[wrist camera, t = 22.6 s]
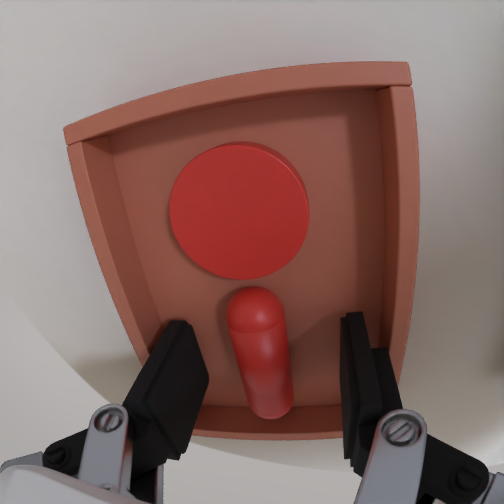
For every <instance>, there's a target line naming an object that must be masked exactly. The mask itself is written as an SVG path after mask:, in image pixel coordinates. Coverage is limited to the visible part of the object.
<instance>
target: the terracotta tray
mask: <svg viewBox="0 0 504 504" xmlns="http://www.w3.org/2000/svg"><path fill="white" fill-rule="evenodd" d="M411 85H412V80H411V74H410V68H409V64H408V63H407V62H389V61H364V62H336V63H321V64H308V65H298V66H289V67H281V68H273V69H266V70H259V71H253V72H247V73H241V74H236V75H231V76H225V77H221V78H216V79H211V80H207V81H202V82H198V83H194V84H189V85H185V86H182V87H178V88H174V89H170V90H167V91H163V92H160V93H156V94H153V95H149V96H146V97H143V98H140V99H137V100H133V101H130V102H127V103H124V104H122V105H119V106H116V107H113V108H110V109H107V110H105V111H102V112H99V113H97V114H94V115H92V116H89V117H87V118H84V119H82V120H79V121H77V122H74V123H72V124H70V125H67V126H65V127H64V129H63V130H64V135H65V140H66V144H67V145H68V147H67V152H68V156H69V161H70V165H71V169H72V174H73V178H74V182H75V186H76V189H77V193H78V197H79V201H80V204H81V208H82V211H83V215H84V218H85V221H86V225H87V228H88V231H89V234H90V238H91V241H92V244H93V247H94V250H95V253H96V256H97V259H98V261H99V264H100V267H101V270H102V273H103V275H104V278H105V281H106V283H107V286H108V289H109V291H110V294H111V296H112V299H113V301H114V304H115V306H116V309H117V311H118V314H119V316H120V318H121V321H122V323H123V325H124V328H125V330H126V332H127V334H128V337H129V339H130V341H131V343H132V345H133V348H134V350H135V352H136V354H137V356H138V358H139V360H140V362H141V364H142V366H144V364H145V362H146V361H147V359H148V357H149V356H150V355H151V353H152V351H153V349H154V348H155V346H156V344H157V342H158V341H159V339H160V337H161V335H162V334H163V332H164V330H165V328H166V327H167V325H168V323H169V322H170V321H171V320H185V321H187V322H188V324H191V325H192V327H193V329H194V332H195V336H196V339H197V342H198V345H199V348H200V351H201V353H202V356H203V359H204V362H205V365H206V368H207V371H208V374H209V384H208V387H207V390H206V393H205V396H204V399H203V402H202V405H201V408H200V411H199V414H198V417H197V420H196V423H195V426H194V429H193V432H192V435H195V436H204V437H215V438H228V439H246V440H315V439H332V438H343V423H342V406H341V392H340V378H339V369H340V318H341V317H346V313H349V312H360V311H362V312H363V315H364V320H365V324H366V328H367V332H368V336H369V341H370V345H371V349H372V348H381V347H387V349H388V352H389V355H390V359H391V363H392V366H393V370H394V374H395V378H396V382H397V386H398V383H399V379H400V374H401V369H402V364H403V359H404V354H405V349H406V343H407V338H408V332H409V325H410V319H411V312H412V304H413V296H414V288H415V278H416V267H417V254H418V237H419V206H420V183H419V152H418V136H417V124H416V113H415V104H414V95H413V89H412V87H410V86H411ZM237 141H247V142H254V143H259V144H262V145H265V146H267V147H270V148H272V149H274V150H275V151H277V152H279V153H280V154H282V155H283V156H284V157H285V158H286V159H288V160H289V161H290V162H291V164H292V165H293V166H294V167H295V168H296V170H297V171H298V173H299V174H300V176H301V178H302V180H303V182H304V185H305V188H306V191H307V196H308V203H309V226H308V231H307V235H306V238H305V240H304V242H303V245H302V246H301V248H300V250H299V251H298V253H297V254H296V255H295V257H294V258H293V259H292V260H291V261H290V262H289V263H288V264H287V265H285V266H284V267H282V268H281V269H280V270H278V271H276V272H274V273H272V274H270V275H267V276H265V277H261V278H257V279H250V280H236V279H229V278H225V277H221V276H218V275H215V274H213V273H211V272H209V271H207V270H205V269H204V268H202V267H200V266H199V265H198V264H196V263H195V262H194V261H193V260H192V259H191V258H190V257H189V256H188V255H187V254H186V253H185V252H184V250H183V249H182V248H181V246H180V244H179V243H178V241H177V239H176V237H175V235H174V233H173V229H172V226H171V222H170V216H169V202H170V195H171V191H172V188H173V185H174V182H175V181H176V179H177V177H178V175H179V174H180V172H181V171H182V169H183V168H184V167H185V166H186V165H187V164H188V163H189V162H190V161H191V160H192V159H194V158H195V157H196V156H197V155H199V154H201V153H203V152H205V151H207V150H209V149H211V148H214V147H216V146H219V145H221V144H225V143H229V142H237ZM251 286H260V287H264V288H266V289H269V290H270V291H272V292H273V293H275V294H276V296H277V297H278V298H279V299H280V301H281V303H282V305H283V308H284V313H285V321H286V329H287V337H288V346H289V354H290V363H291V371H292V380H293V389H294V402H293V405H292V407H291V409H290V410H289V411H288V412H287V413H286V414H285V415H284V416H282V417H280V418H277V419H264V418H261V417H259V416H257V415H256V414H255V413H254V412H253V411H252V410H251V408H250V406H249V404H248V401H247V397H246V394H245V390H244V387H243V383H242V379H241V376H240V372H239V368H238V364H237V361H236V357H235V353H234V349H233V345H232V341H231V337H230V334H229V330H228V326H227V321H226V309H227V306H228V303H229V301H230V300H231V298H232V297H233V296H234V295H235V294H236V293H237V292H238V291H240V290H242V289H244V288H247V287H251Z"/></svg>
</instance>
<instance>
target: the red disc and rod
mask: <svg viewBox="0 0 504 504" xmlns="http://www.w3.org/2000/svg"><path fill="white" fill-rule="evenodd" d="M169 216H170V222H171V226H172V229H173V233H174V235H175V237H176V239H177V241H178V243H179V244H180V246H181V248H182V249H183V250H184V252H185V253H186V254H187V255H188V256H189V257H190V258H191V259H192V260H193V261H194V262H195V263H196V264H198V265H199V266H200V267H202V268H204V269H205V270H207V271H209V272H211V273H213V274H215V275H218V276H221V277H225V278H229V279H236V280H250V279H257V278H261V277H265V276H267V275H270V274H272V273H274V272H276V271H278V270H280V269H281V268H282V267H284V266H285V265H287V264H288V263H289V262H290V261H291V260H292V259H293V258H294V257H295V255H296V254H297V253H298V251H299V250H300V248H301V246H302V245H303V242H304V240H305V238H306V235H307V231H308V226H309V203H308V196H307V191H306V188H305V185H304V182H303V180H302V178H301V176H300V174H299V173H298V171H297V170H296V168H295V167H294V166H293V165H292V164H291V162H290V161H289V160H288V159H286V158H285V157H284V156H283V155H282V154H280V153H279V152H277V151H275V150H274V149H272V148H270V147H267V146H265V145H262V144H259V143H254V142H247V141H237V142H229V143H225V144H221V145H219V146H216V147H214V148H211V149H209V150H207V151H205V152H203V153H201V154H199V155H197V156H196V157H195V158H194V159H192V160H191V161H190V162H189V163H188V164H187V165H186V166H185V167H184V168H183V169H182V171H181V172H180V174H179V175H178V177H177V179H176V181H175V182H174V185H173V188H172V191H171V195H170V202H169ZM226 321H227V326H228V330H229V334H230V337H231V341H232V345H233V349H234V353H235V357H236V361H237V364H238V368H239V372H240V376H241V379H242V383H243V387H244V390H245V394H246V397H247V401H248V404H249V406H250V408H251V410H252V411H253V412H254V413H255V414H256V415H257V416H259V417H261V418H264V419H277V418H280V417H282V416H284V415H285V414H286V413H287V412H288V411H289V410H290V409H291V407H292V405H293V402H294V389H293V380H292V371H291V363H290V354H289V346H288V337H287V329H286V321H285V313H284V308H283V305H282V303H281V301H280V299H279V298H278V297H277V296H276V294H275V293H273V292H272V291H270V290H269V289H266V288H264V287H260V286H251V287H247V288H244V289H242V290H240V291H238V292H237V293H236V294H235V295H234V296H233V297H232V298H231V300H230V301H229V303H228V306H227V309H226Z"/></svg>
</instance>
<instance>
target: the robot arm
mask: <svg viewBox="0 0 504 504" xmlns="http://www.w3.org/2000/svg"><path fill="white" fill-rule="evenodd" d="M339 378H340V392H341V406H342V423H343V444H344V459H350V466H351V467H353V468H354V472H355V473H356V474H358V475H359V476H361V477H362V480H361V483H360V486H359V489H358V492H357V495H356V499H355V501H354V504H504V474H503V473H500V472H497V473H496V474H493V473H490V472H488V469H487V467H486V466H485V464H484V463H482V462H481V461H479V460H478V459H476V458H474V457H472V456H469V455H467V454H465V453H463V452H461V451H459V450H457V449H456V448H454V447H452V446H450V445H448V444H446V443H444V442H442V441H440V440H438V439H436V438H434V437H432V436H431V435H429V434H427V424H426V422H425V420H424V418H423V417H422V416H421V415H420V414H418V413H416V412H414V411H412V410H407V409H403V407H402V403H401V399H400V394H399V390H398V386H397V382H396V378H395V374H394V370H393V366H392V363H391V359H390V355H389V352H388V349H387V347H381V348H372V349H371V345H370V341H369V336H368V332H367V328H366V324H365V320H364V315H363V312H362V311H360V312H349V313H346V317H341V318H340V369H339ZM208 384H209V374H208V371H207V368H206V365H205V362H204V359H203V356H202V353H201V351H200V348H199V345H198V342H197V339H196V336H195V332H194V329H193V327H192V325H191V324H188V322H187V321H185V320H171V321H170V322H169V323H168V325H167V327H166V328H165V330H164V332H163V334H162V335H161V337H160V339H159V341H158V342H157V344H156V346H155V348H154V349H153V351H152V353H151V355H150V356H149V357H148V359H147V361H146V362H145V364H144V366H143V368H142V370H141V371H140V373H139V375H138V377H137V379H136V380H135V382H134V384H133V386H132V388H131V389H130V391H129V393H128V395H127V397H126V398H125V400H124V402H123V404H122V406H121V405H119V404H107V405H105V406H103V407H101V408H99V409H98V410H96V411H95V413H94V414H93V415H92V418H91V420H90V423H89V427H88V429H85V430H83V431H81V432H78V433H76V434H74V435H72V436H69V437H66V438H64V439H62V440H59V441H57V442H54V443H53V444H51V445H50V446H49V447H47V448H46V450H45V452H44V454H43V453H42V452H38V453H34V454H30V455H26V456H23V457H19V458H15V459H11V460H8V461H6V462H4V463H3V464H2V465H1V468H0V504H163V470H164V467H163V466H164V465H163V464H164V463H165V462H166V460H167V459H172V460H179V459H180V456H181V453H182V454H184V453H185V452H186V449H187V447H188V444H189V441H190V438H191V435H192V432H193V429H194V426H195V423H196V420H197V417H198V414H199V411H200V408H201V405H202V402H203V399H204V396H205V393H206V390H207V387H208Z"/></svg>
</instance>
